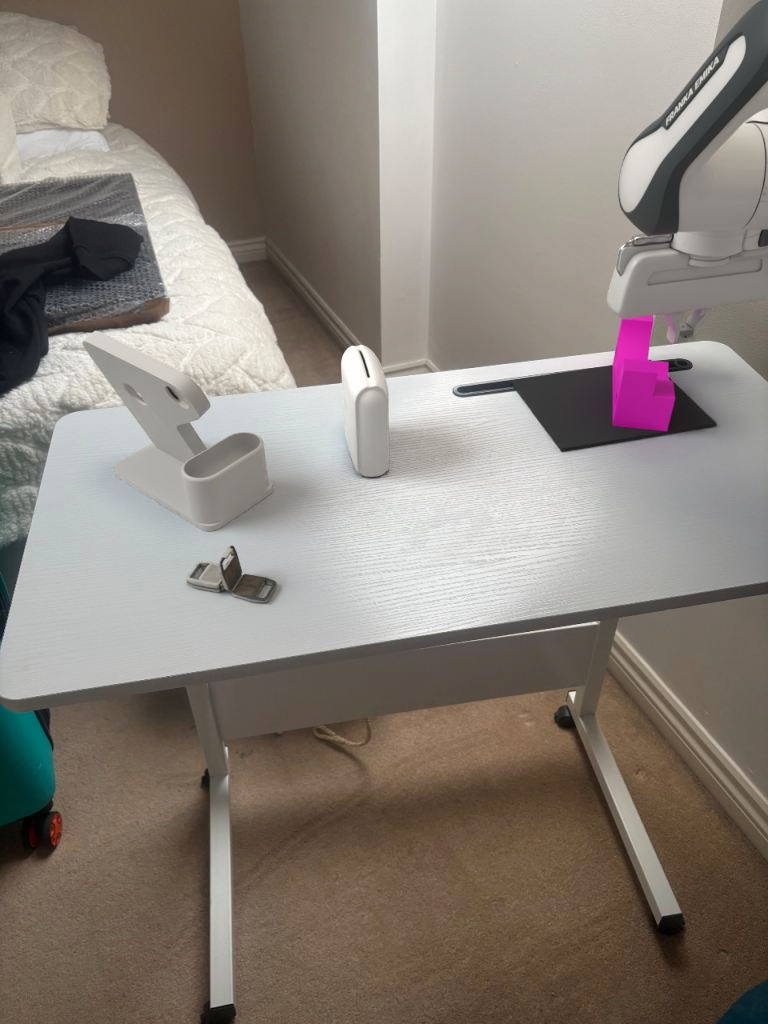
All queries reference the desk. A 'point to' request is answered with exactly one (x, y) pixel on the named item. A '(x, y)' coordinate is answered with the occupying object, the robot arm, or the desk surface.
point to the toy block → (640, 380)
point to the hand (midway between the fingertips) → (680, 340)
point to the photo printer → (365, 410)
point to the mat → (595, 409)
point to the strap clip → (229, 578)
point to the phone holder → (180, 441)
